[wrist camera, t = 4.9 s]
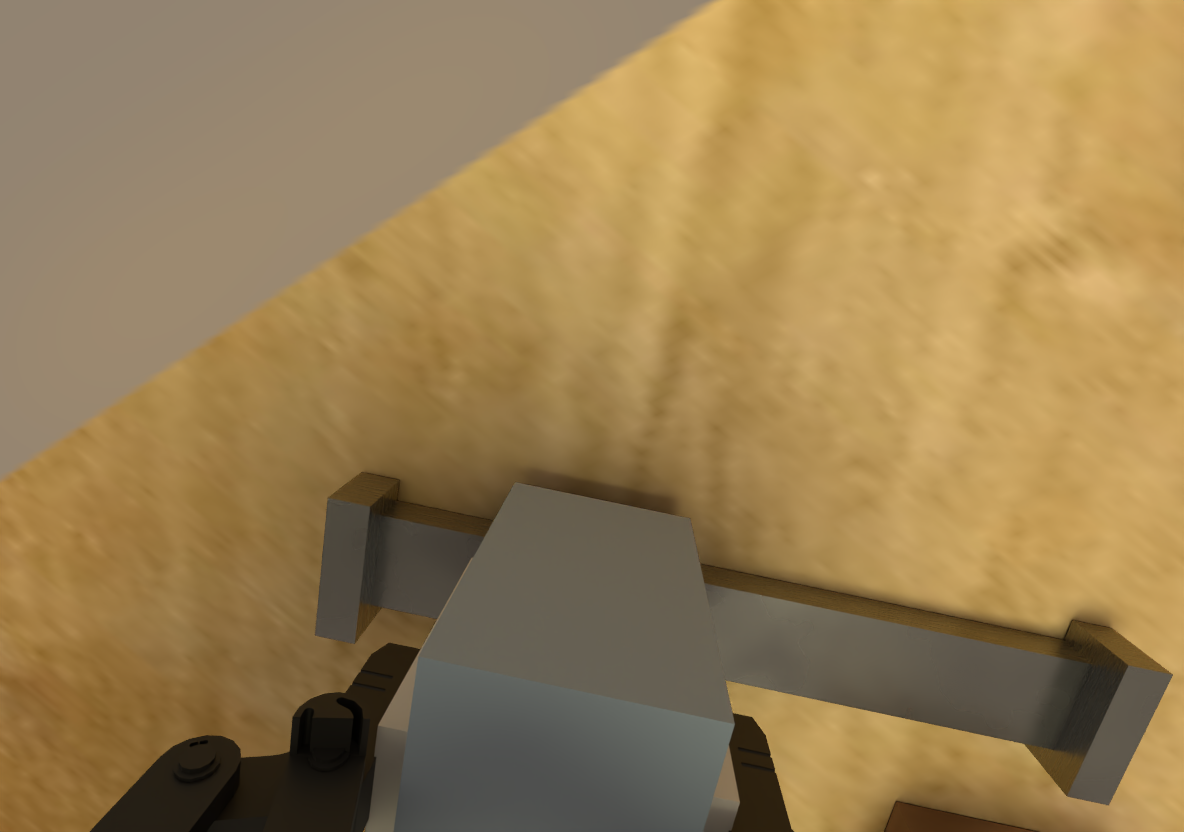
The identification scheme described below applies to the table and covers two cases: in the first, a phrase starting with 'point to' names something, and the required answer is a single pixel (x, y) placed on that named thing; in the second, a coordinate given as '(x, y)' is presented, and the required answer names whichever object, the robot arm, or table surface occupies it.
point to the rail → (802, 642)
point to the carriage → (570, 679)
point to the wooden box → (939, 821)
